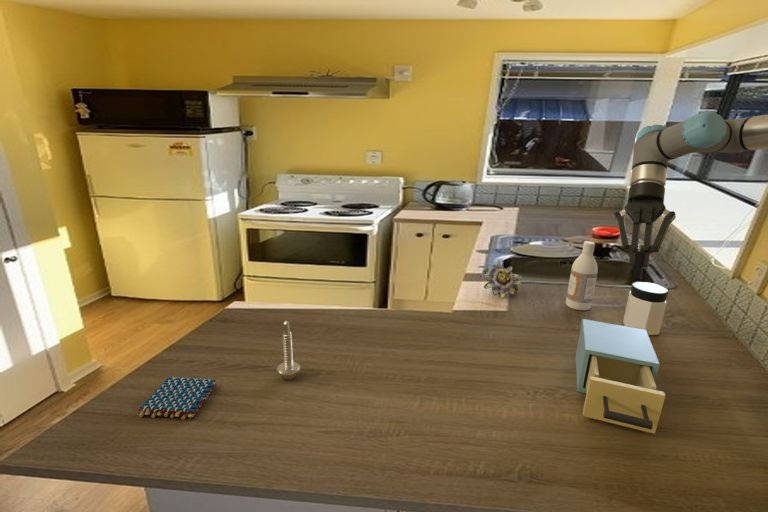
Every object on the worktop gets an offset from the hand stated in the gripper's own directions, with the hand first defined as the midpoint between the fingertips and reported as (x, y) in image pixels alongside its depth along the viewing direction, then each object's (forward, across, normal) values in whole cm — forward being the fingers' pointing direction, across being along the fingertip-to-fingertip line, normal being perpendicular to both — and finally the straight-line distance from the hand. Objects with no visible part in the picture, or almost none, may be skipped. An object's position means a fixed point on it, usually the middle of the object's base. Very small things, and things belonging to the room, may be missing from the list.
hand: (637, 279), depth 100 cm
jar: (+9, +1, -21) cm, 23 cm away
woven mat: (+47, +65, +64) cm, 103 cm away
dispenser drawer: (+30, -1, +17) cm, 35 cm away
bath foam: (+4, +17, -23) cm, 29 cm away
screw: (+39, +56, +47) cm, 83 cm away
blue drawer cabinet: (+24, +3, +6) cm, 25 cm away
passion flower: (+4, +40, -17) cm, 43 cm away
